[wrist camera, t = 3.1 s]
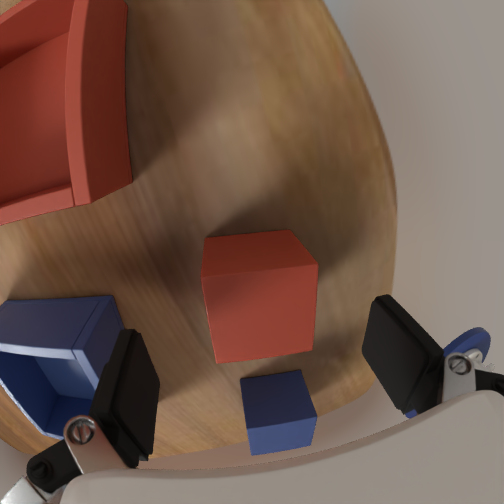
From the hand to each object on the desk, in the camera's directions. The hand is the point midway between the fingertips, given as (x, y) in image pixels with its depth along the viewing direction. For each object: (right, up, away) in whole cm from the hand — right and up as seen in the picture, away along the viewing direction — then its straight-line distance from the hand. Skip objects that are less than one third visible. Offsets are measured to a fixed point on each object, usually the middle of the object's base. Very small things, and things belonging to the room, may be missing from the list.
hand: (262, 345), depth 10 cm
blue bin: (-15, -5, +8) cm, 18 cm away
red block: (0, +2, +7) cm, 7 cm away
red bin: (-13, +12, +1) cm, 18 cm away
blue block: (+1, -9, +11) cm, 14 cm away
